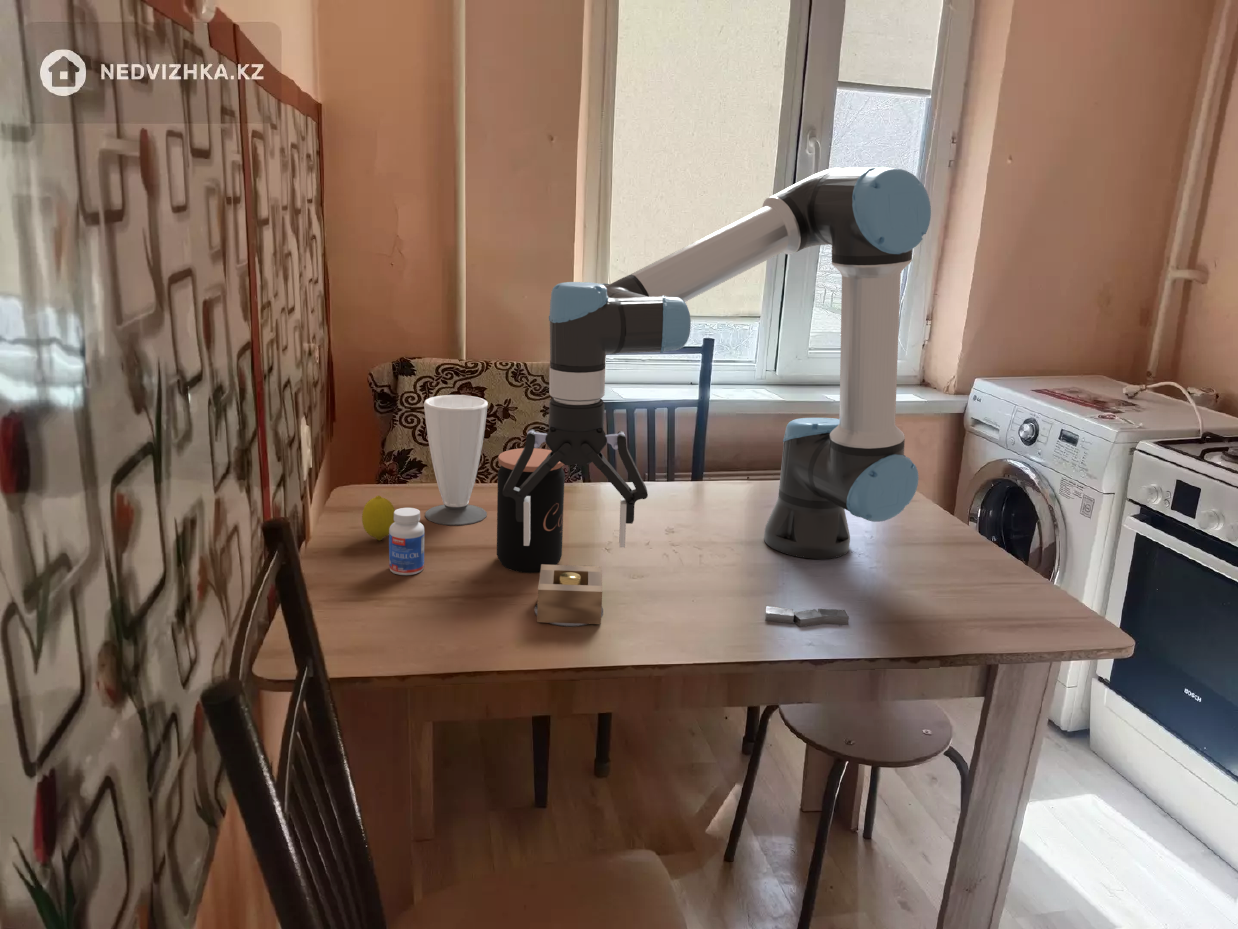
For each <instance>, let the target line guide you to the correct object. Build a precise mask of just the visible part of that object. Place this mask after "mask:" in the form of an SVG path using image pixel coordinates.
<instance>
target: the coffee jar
mask: <svg viewBox="0 0 1238 929" xmlns="http://www.w3.org/2000/svg"><path fill="white" fill-rule="evenodd" d="M523 449H524V447H521V448H514V449H509V450H506V451H505V450H504V451H502V452H501V453H499V455H498V457H497V459H498V463H499V465H500V467H499V469H498V471H497V492H496V493H497V495H496V497H497V501H496V502H497V505H496V510H497V511H496V512H497V513H496V515H497V516H496V518H497V519H496V556H497V559H498V560H499V561H498V562H500V563H501V566H502V567H505V569H508V570H510V571H513V572H518V573H522V574H523V573H524V574H525V573H527V574H534V573H535V574H537V573H540V571H541V564H544V565H558V563H559V562H560V561H561V559H562V555H563V532H564V503H565V477H566V474H565V471H564V469H563V467H564V466H565V464H563V463H561V462H560V461H559V462H558V463H557V464H556V465H555V467H554V468H552V469H551V470H550V471H549V472H548V473H547V474H546V476H545V477H544V478H543V479H542V480H541V481H540V482H539V483H538V484H537V485H536V486H535V488H534V489H533V490H532V491H531V492H530V493H529V494H528V495H527V496H530V543H529V546H524V522H517V520H516V501H515V500H514V499H513V498H511V497H505V496H504V495H503V493H502V492H503V489H504V485H505V484H506V482H507V480H508V478H509V476H510V474H511V472H512V470H513V468H514V466H515V464H516V463H517V461H518V459H519V457H520V455H521V453H522V451H523ZM550 452H551V449H545V448H534V450H533V453H532V455H531V457H530V459H529V461H528V463H527V465H526V467H525V469H524V470H523V472H522V474H521V476H520V478H519V480H518V482H517V484H516V486H515V487H517V488H519V487H520V486H521V485H522V484H523V483H524V482H525V481H526V480H527V479H528V477H529V476H530V475H531V474H532V473H533V472H534V471H535V470H536V469H537V468H538V466H539V465H540V464H541V463H542V462H543V461H544V460H545V459H546V457H547V456H548V455H549V453H550Z"/></svg>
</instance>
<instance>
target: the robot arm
mask: <svg viewBox="0 0 1238 929" xmlns="http://www.w3.org/2000/svg"><path fill="white" fill-rule="evenodd" d="M931 208H932V207H931V201H930V198H929V194H928V191H927V189H926V187H925V186H924V183H923V182H921V181H920V180H919V179H918V178H917V177H916V175H914V174H913V173H912V172H910V171H908V170H905V169H901V168H898V167H897V168H895V167H891V166H881V165H880V166H879V165H878V166H867V167H866V166H865V167H847V166H846V167H844V166H843V167H832V168H828V169H825V170H821V171H819V172H817V173H814V174H812V175H810V176H808V177H805V178H804V179H802V180H800V181H798V182H796V183H794V184H792V185H790V186H788V187H786V188H784V189H782V190H780V191H779V192H777V193H775V194H774V193H773V195H771V196H769V197H766V198H765V199H764V201H763V202H762V206H761V208H759V209H756V210H755V211H753V212H751V213H749V214H748V215H745V216H744V217H743V216H742V218H739V219H738V220H735V221H733V222H732V223H729V224H727V225H726V226H723V227H722V228H720V229H718V230H715V231H713V232H712V233H710V234H707V235H705V236H704V237H702V238H700V239H697V240H696V241H694V242H692V243H690V244H688V245H685V246H684V247H682V248H680V249H678V250H676V251H674V252H672V253H669V254H668V255H666V256H664V257H662V258H659V259H658V260H656V261H655V262H652V263H651V264H648V265H646V266H644V267H642V268H640V269H639V270H637V271H634V272H631V274H628V275H626V276H624V277H621V278H620V279H617V280H616V281H615V280H614V282H612V283H605V282H604V283H599V282H598V283H597V282H588V281H587V282H586V281H585V282H582V281H567V282H559V283H557V284H556V285H554V286H553V288H552V289H551V294H550V299H549V300H550V301H549V315H548V322H549V383H548V384H549V387H548V388H549V389H548V391H549V395H550V397H552V398H551V399H550V400H549V402H548V403H549V405H548V407H549V410H548V411H549V412H548V414H549V415H548V416H549V418H548V420H549V422H548V426H549V427H548V431H547V433H546V432H538V431H536V430H535V429H533V428H530V429H528V431H527V433H526V436H525V437H526V438H525V445H524V447H523V448H524V449H523V451H522V453H521V455H520V457H519V459H518V461H517V463H516V464H515V466H514V468H513V470H512V472H511V474H510V476H509V478H508V480H507V482H506V484H505V485H504V489H503V492H502V493H503V495H504V496H505V497H511V498H513V499H514V500H515V501H516V520H517V522H524V546H529V543H530V496H527V495H528V494H529V493H530V492H531V491H532V490H533V489H534V488H535V486H536V485H537V484H538V483H539V482H540V481H541V480H542V479H543V478H544V477H545V476H546V474H547V473H548V472H549V471H550V470H551V469H552V468H554V467H555V465H556V464H557V463H558V462H559V461H560V462H561V463H563V464H564V466H572V465H579V466H588V465H590V464H592V463H593V465H594V466H595V467H596V468H597V469H598V470H599V471H600V472H601V473H602V474H603V476H604V477H605V478H606V479H607V480H608V482H609V483H610V484H611V485H612V486H613V487H614V488H615V490H616V491H617V492H618V493H619V494H620V495H621V497H620V501H619V502H620V505H619V506H620V508H619V509H620V510H619V536H618V537H619V538H618V541H619V542H618V543H619V548H626V534H627V533H626V531H627V530H626V529H627V525H628V524H630V525H631V524H634V521H635V504H636V502H637V501H641V500H646V499H648V494H649V493H648V489H647V486H646V484H645V482H644V480H643V477H642V476H641V474H640V472H639V469H638V467H637V465H636V463H635V461H634V459H633V457H632V454H631V453H630V451H629V448H628V447H627V437H626V433H625V432H624V431H623V430H620V431H618V432H617V433H611V434H606V432H605V429H604V428H605V427H604V426H605V402H604V400H603V399H602V398H603V397H604V396H605V392H606V390H605V389H606V387H605V386H606V385H605V384H606V356H607V354H608V355H609V354H610V355H614V354H629V353H630V354H633V353H634V354H635V353H660V354H662V353H664V352H671V351H678V350H681V349H683V348H684V347H685V345H686V344H687V343H688V341H689V337H690V335H691V325H692V323H691V320H692V319H691V314H690V310H689V307H688V305H687V303H686V302H688V301H690V300H692V299H694V298H696V297H698V296H700V295H702V294H704V293H705V292H708V291H710V290H711V289H714V288H715V287H717V286H719V285H721V284H722V283H725V282H727V281H729V280H731V279H733V278H735V277H737V276H738V275H741V274H742V273H744V272H747V271H749V270H751V269H752V268H755V267H756V266H758V265H760V264H763V263H764V262H766V261H768V260H770V259H772V258H774V257H776V256H778V255H780V254H782V253H784V254H785V255H789V256H790V255H793V254H796V253H797V252H799V251H801V250H804V249H806V248H811V247H815V246H823V245H824V246H827V245H830V246H831V264H832V266H834V268H835V269H837V271H838V272H839V273H840V274H841V306H840V307H841V309H840V311H841V312H840V313H841V314H840V318H841V319H840V362H839V363H840V365H839V366H840V370H839V371H840V372H839V377H840V378H839V418H832V417H802V418H801V417H800V418H796V419H792V420H791V421H789V422H788V423H787V424H786V427H785V432H784V436H783V440H782V442H783V445H782V458H781V467H780V475H779V476H780V478H779V485H778V496H777V500H776V503H775V505H774V507H773V509H772V511H771V514H770V516H769V517H768V520H767V522H766V524H765V528H764V535H763V540H764V542H765V544H766V545H767V546H769V547H770V548H771V549H773V550H775V551H777V552H780V553H782V554H786V555H789V556H793V557H797V558H802V559H803V558H805V559H814V560H815V559H816V560H819V559H820V560H824V559H825V560H826V559H834V558H838V557H842V556H844V555H846V554H847V553H848V552H849V550H850V543H851V535H850V529H849V523H848V519H847V516H846V511H848V512H849V513H850V514H851V515H852V516H854V517H857V518H862V519H863V520H865V521H868V522H874V523H875V522H876V523H878V522H881V523H882V522H885V521H888V520H891V519H893V518H895V517H896V516H898V515H899V514H901V513H902V511H904V509H905V508H906V507H907V506H908V505H909V504H910V503H911V501H912V500H913V498H914V496H915V495H916V492H917V489H918V486H919V479H920V478H919V471H918V467H917V466H916V464H915V463H914V462H913V460H912V459H911V458H910V457H908V456H906V455H905V442H906V441H905V440H906V438H905V433H904V431H902V430H901V429H900V428H899V427H898V426H897V425H896V411H897V406H896V405H897V385H898V384H897V382H898V377H897V376H898V358H899V356H898V355H899V332H900V330H899V328H900V327H899V326H900V305H901V304H900V303H901V302H900V298H901V297H900V296H901V274H902V272H903V270H905V268H907V267H908V265H910V264H911V263H912V262H913V249H915V247H917V246H918V245H919V244H920V243H921V242H922V241H923V236H924V235H926V234H927V232H928V230H929V226H930V224H931V217H932V209H931ZM543 443H545V444H546V445H547V446H548V448H549V450H551V452H550V453H549V455H548V456H547V457H546V459H545V460H544V461H543V462H542V463H541V464H540V465H539V466H538V468H537V469H536V470H535V471H534V472H533V473H532V474H531V475H530V476H529V477H528V479H527V480H526V481H525V482H524V483H523V484H522V485H521V486H520V487H519V488H517V487H515V486H516V484H517V482H518V480H519V478H520V476H521V474H522V472H523V470H524V469H525V467H526V465H527V463H528V461H529V459H530V457H531V455H532V453H533V450H534V448H538V449H540V446H541V445H542V444H543ZM607 444H609V445H611V447H612V449H613V450H616V451H618V455H619V457H620V459H621V461H622V463H623V466H624V468H625V470H626V472H627V474H628V476H629V478H630V480H631V482H632V484H633V487H634V489H632V488H631V487H630V486H629V484H628V483H627V482H626V481H625V480H624V479H623V478H622V476H621V475H620V473H618V471H617V470H616V469H615V468H614V467H613V465H612V464H611V463H610V462H609V461H608V459H607V458H606V457H605V455H604V454H603V453H602V451H603V449H604V448H605V447H606V446H607Z"/></svg>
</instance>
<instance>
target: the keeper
mask: <svg viewBox="0 0 1238 929" xmlns="http://www.w3.org/2000/svg"><path fill="white" fill-rule="evenodd" d="M580 580H581V576H580V575H579V574H577V573H573V572H566V573H562V574H561V575H560V584H562V585H580ZM537 608H538V602H537V603H536V604H535V606H534V614H535V615H536V617H537ZM603 615H604V609H603V607H602V609H601V618H602V617H603ZM546 623H547V624H550V625H552V626H558V627H559V626H560V627H570V628H573V627H582V626H587V625H589V624H580V623H549V622H546Z"/></svg>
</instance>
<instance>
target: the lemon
mask: <svg viewBox="0 0 1238 929" xmlns="http://www.w3.org/2000/svg"><path fill="white" fill-rule="evenodd" d="M395 510H396V509H395V507H394V505H393V503H392V502H391V501H390V500H389V499H388V498H386V497H382V496H381V495H376V496H375V497H373V498H371V499H369V500H368V501H367V502H366V503H365V505H364V507H363V510H362V516H361V521H362V526H363V529H364V531H365V532H366V533H367V534H368V535H369V536H371V537H372V538H375V539H376V540H378V541H382V539H384V538H385V537H388V536H389V528H390V526H391V525H392V524H393V523H395V521H394V511H395Z"/></svg>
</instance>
